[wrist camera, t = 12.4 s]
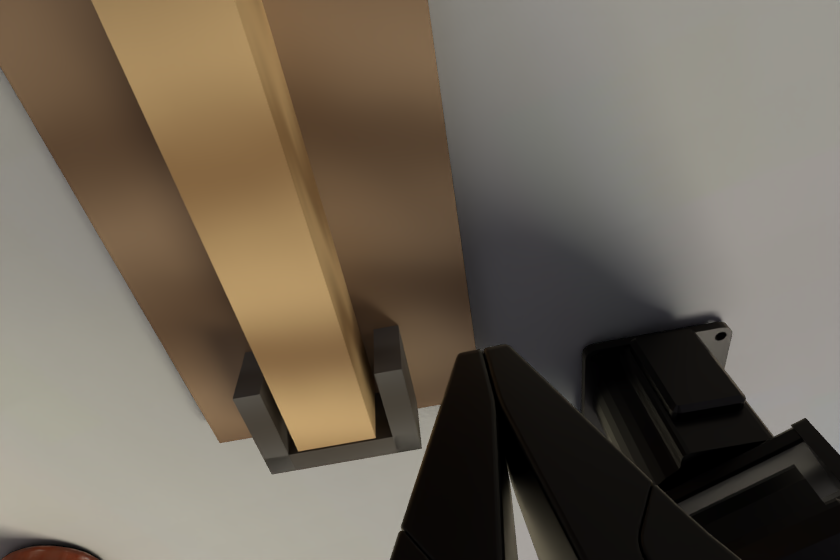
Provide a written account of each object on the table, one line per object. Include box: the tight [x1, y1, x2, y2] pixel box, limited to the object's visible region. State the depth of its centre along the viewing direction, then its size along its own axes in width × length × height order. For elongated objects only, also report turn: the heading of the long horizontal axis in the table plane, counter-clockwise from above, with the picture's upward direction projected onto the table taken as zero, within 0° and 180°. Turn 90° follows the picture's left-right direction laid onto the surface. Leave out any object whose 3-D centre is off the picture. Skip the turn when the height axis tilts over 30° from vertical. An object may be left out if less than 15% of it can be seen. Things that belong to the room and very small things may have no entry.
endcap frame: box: [0, 0, 476, 474], centre depth 16 cm, size 26×12×4 cm, turn 9°
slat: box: [91, 0, 376, 451], centre depth 16 cm, size 22×3×3 cm, turn 9°
